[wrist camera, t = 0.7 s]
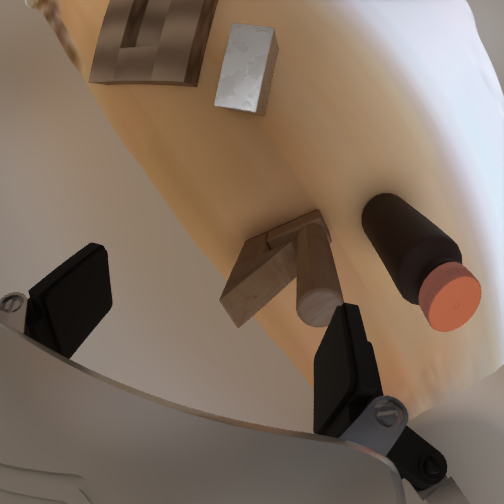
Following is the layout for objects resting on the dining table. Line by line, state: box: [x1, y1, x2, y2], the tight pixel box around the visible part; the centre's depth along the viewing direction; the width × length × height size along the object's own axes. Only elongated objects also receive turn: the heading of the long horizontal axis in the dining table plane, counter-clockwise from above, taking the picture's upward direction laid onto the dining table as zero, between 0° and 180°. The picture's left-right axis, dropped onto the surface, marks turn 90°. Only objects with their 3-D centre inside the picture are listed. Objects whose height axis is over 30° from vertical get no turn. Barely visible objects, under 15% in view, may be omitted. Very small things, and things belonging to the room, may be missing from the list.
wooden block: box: [220, 210, 344, 328], centre depth 29 cm, size 4×11×18 cm, turn 118°
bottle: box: [362, 194, 481, 332], centre depth 25 cm, size 7×7×20 cm
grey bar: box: [214, 23, 279, 116], centre depth 26 cm, size 9×4×8 cm, turn 169°
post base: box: [89, 0, 218, 87], centre depth 24 cm, size 20×14×4 cm
